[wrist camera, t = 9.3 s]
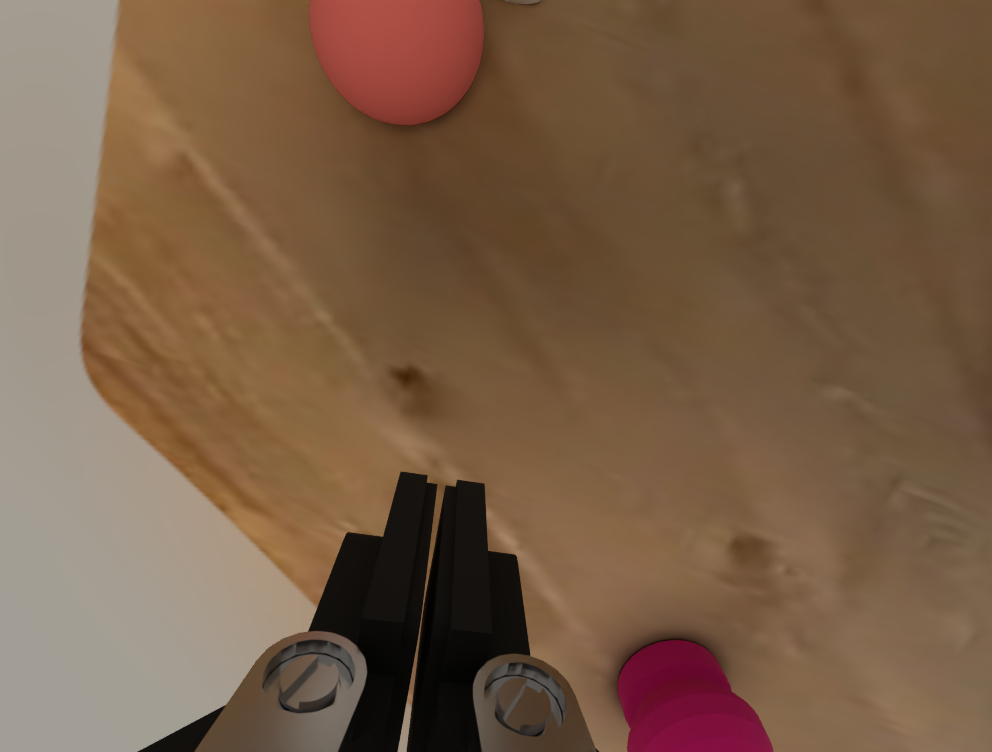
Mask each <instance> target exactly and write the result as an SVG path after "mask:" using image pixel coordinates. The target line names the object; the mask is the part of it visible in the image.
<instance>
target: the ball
mask: <svg viewBox="0 0 992 752" xmlns="http://www.w3.org/2000/svg"><path fill="white" fill-rule="evenodd" d="M309 20H310V30H311V35H312V40H313V44H314V47H315V51H316V54H317V57H318V59H319V61H320V63H321V66H322V68H323V70H324V72H325V73H326V75H327V77H328V78H329V80H330V82H331V83H332V84H333V86H334V87H335V88H336V89H337V91H338V92H339V93H340V94H341V95H342V96H343V97H344V98H345V99H346V100H347V101H348V102H349V103H350V104H351V105H353V106H354V107H355V108H357V109H358V110H359V111H361V112H363V113H364V114H366V115H368V116H370V117H372V118H374V119H377V120H379V121H382V122H385V123H389V124H396V125H415V124H420V123H425V122H428V121H431V120H433V119H435V118H437V117H439V116H441V115H443V114H445V113H446V112H447V111H449V110H450V109H451V108H453V107H454V106H455V105H456V104H457V103H458V102H459V101H460V100H461V99H462V97H463V96H464V95H465V93H466V92H467V90H468V89H469V88H470V86H471V84H472V82H473V80H474V78H475V76H476V73H477V70H478V68H479V65H480V61H481V57H482V52H483V43H484V21H483V14H482V7H481V3H480V0H310V5H309Z"/></svg>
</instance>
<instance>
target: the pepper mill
mask: <svg viewBox="0 0 992 752" xmlns="http://www.w3.org/2000/svg"><path fill="white" fill-rule="evenodd" d="M618 695H619V699H620V702H621V705H622V708H623V712H624V715H625V718H626V721H627V723H628V725H629V727H630V728H631V730H630V732H629V737H628V746H627V751H628V752H774V751H773V748H772V744H771V742H770V739H769V737H768V735H767V733H766V731H765V729H764V727H763V725H762V723H761V721H760V719H759V717H758V715H757V714H756V712H755V711H754V710H753V708H752V707H751V706H750V705H749V704H748V703H747V702H746V701H744V700H743V699H742V698H740V697H739V696H737V695H736V694H735V693H733V692H732V691H731V687H730V684H729V682H728V680H727V678H726V676H725V674H724V673H723V671H722V669H721V667H720V665H719V664H718V662H717V660H716V659H715V657H714V656H713V655H712V654H711V653H710V652H709V651H708V650H707V649H705V648H703V647H702V646H700V645H698V644H695V643H692V642H689V641H682V640H669V641H662V642H657V643H655V644H652V645H650V646H647V647H645V648H643V649H642V650H640V651H639V652H637V653H636V654H634V655H633V656H632V657H631V658H630V660H629V661H628V662H627V663H626V664H625V666H624V668H623V670H622V672H621V673H620V676H619V680H618Z"/></svg>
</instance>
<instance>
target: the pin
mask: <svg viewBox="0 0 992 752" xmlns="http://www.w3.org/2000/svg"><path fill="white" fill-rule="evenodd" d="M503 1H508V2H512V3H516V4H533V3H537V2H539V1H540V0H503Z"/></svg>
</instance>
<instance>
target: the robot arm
mask: <svg viewBox="0 0 992 752" xmlns="http://www.w3.org/2000/svg"><path fill="white" fill-rule="evenodd" d="M427 477H428V475H421V474H415V473H408V472H400V476H399V480H398V483H397V487H396V491H395V495H394V498H393V502H392V506H391V510H390V513H389V517H388V521H387V524H386V528H385V532H384V536H383V537H380V536H373V535H365V534H358V533H350V532H348V533H347V534H346V536H345V538H344V540H343V543H342V545H341V548H340V551H339V553H338V556H337V558H336V561H335V564H334V566H333V569H332V571H331V574H330V576H329V579H328V582H327V584H326V587H325V589H324V592H323V595H322V597H321V600H320V602H319V605H318V608H317V610H316V613H315V615H314V618H313V621H312V623H311V626H310V628H309V631H308V632H303V633H298V634H295V635H292V636H289V637H286V638H284V639H282V640H280V641H279V642H277V643H275V644H274V645H272V646H271V647H269V648H268V649H267V650H266V651H265V652H264V653H263V654H262V655H261V656H260V658H259V659H258V660H257V661H256V662H255V664H254V665H253V667H252V668H251V670H250V671H249V673H248V674H247V675H246V677H245V678H244V680H243V681H242V683H241V684H240V686H239V687H238V689H237V690H236V692H235V693H234V695H233V696H232V697H231V699H230V700H229V702H228V703H227V705H225V706H223V707H221V708H219V709H217V710H215V711H214V712H212V713H210V714H208V715H206V716H204V717H202V718H200V719H199V720H197V721H195V722H193V723H191V724H189V725H187V726H186V727H183V728H182V729H180V730H178V731H176V732H174V733H172V734H170V735H168V736H166V737H165V738H163V739H161V740H159V741H157V742H155V743H153V744H151V745H149V746H148V747H146V748H144V749H142V750H140V751H138V752H397V751H398V746H399V740H400V734H401V729H402V724H403V718H404V712H405V707H406V702H407V696H408V690H409V685H410V679H411V674H412V668H413V663H414V657H415V652H416V646H417V640H418V634H419V628H420V621H421V614H422V606H423V598H424V590H425V582H426V573H427V565H428V557H429V549H430V540H431V532H432V524H433V516H434V508H435V499H436V491H437V484H433V483H427ZM407 752H599V751H598V750H597V749H596V748H595V746H594V743H593V741H592V738H591V736H590V733H589V730H588V728H587V725H586V722H585V720H584V717H583V714H582V712H581V709H580V706H579V704H578V701H577V698H576V696H575V694H574V692H573V690H572V688H571V687H570V685H569V683H568V681H567V680H566V679H565V678H564V677H563V676H562V675H561V674H560V673H559V672H558V671H557V670H556V669H555V668H553V667H552V666H550V665H549V664H547V663H546V662H544V661H542V660H539V659H537V658H534V657H531V656H530V649H529V642H528V634H527V627H526V620H525V612H524V605H523V597H522V590H521V583H520V575H519V568H518V561H517V557H516V555H514V554H507V553H499V552H492V551H488V542H487V523H486V504H485V486H484V484H483V483H476V482H469V481H462V480H457V483H456V487H453V486H447V485H446V487H445V492H444V497H443V503H442V508H441V514H440V519H439V525H438V530H437V536H436V541H435V547H434V553H433V558H432V564H431V569H430V575H429V580H428V586H427V591H426V597H425V603H424V610H423V617H422V625H421V634H420V642H419V651H418V659H417V668H416V676H415V685H414V693H413V702H412V710H411V719H410V728H409V735H408V745H407Z"/></svg>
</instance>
